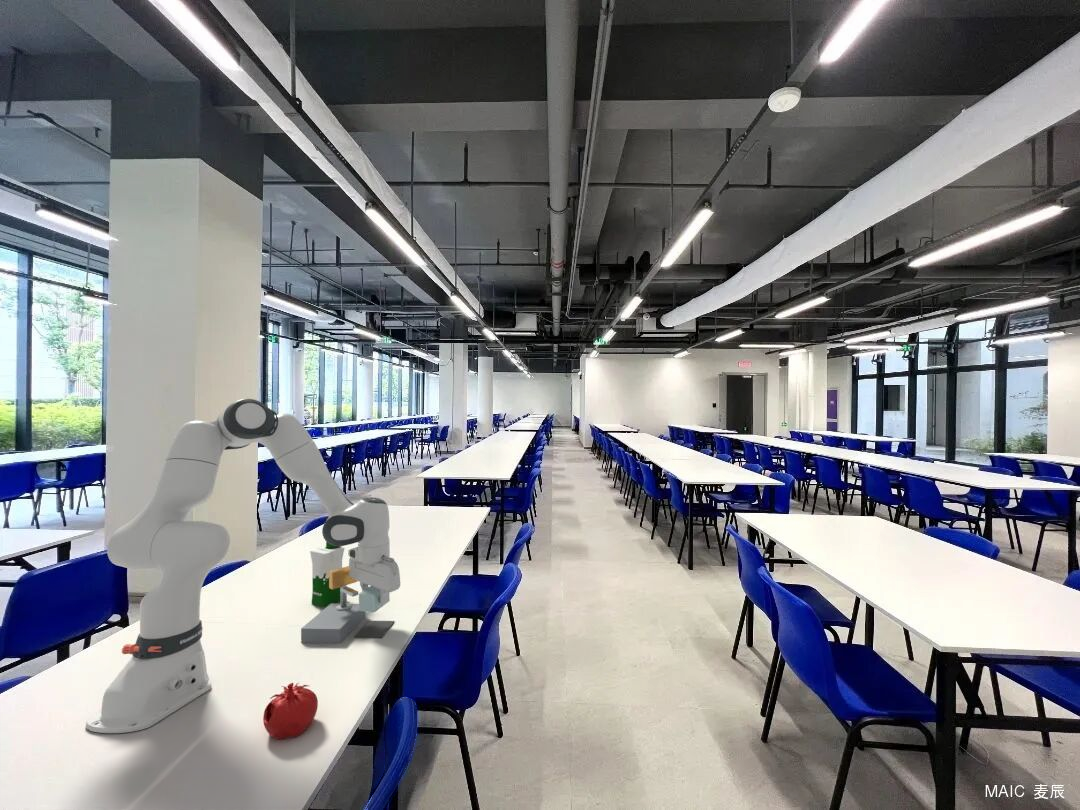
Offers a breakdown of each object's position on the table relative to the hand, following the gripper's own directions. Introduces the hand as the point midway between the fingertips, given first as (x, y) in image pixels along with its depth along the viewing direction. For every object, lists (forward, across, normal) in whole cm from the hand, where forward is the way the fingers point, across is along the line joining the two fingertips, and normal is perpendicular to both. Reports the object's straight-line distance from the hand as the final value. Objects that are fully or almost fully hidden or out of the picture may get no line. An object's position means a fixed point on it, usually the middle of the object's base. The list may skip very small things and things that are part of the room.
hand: (374, 599), depth 141 cm
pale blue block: (+2, 0, 0) cm, 2 cm away
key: (+4, +10, +2) cm, 11 cm away
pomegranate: (+8, -24, +36) cm, 44 cm away
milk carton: (+9, +30, -3) cm, 31 cm away
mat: (+9, 0, 0) cm, 9 cm away
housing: (+9, +10, +7) cm, 15 cm away
